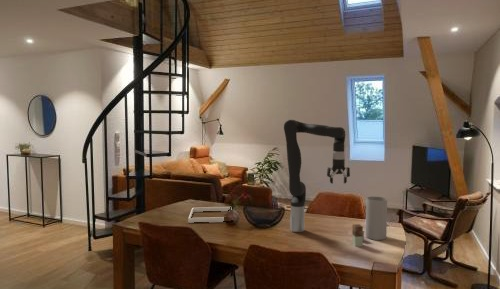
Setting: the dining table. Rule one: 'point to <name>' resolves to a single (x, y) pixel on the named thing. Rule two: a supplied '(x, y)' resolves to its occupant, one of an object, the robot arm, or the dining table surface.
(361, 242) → the sage block
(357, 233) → the walnut block
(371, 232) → the cylinder vase
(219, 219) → the white square frame
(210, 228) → the dining table surface
